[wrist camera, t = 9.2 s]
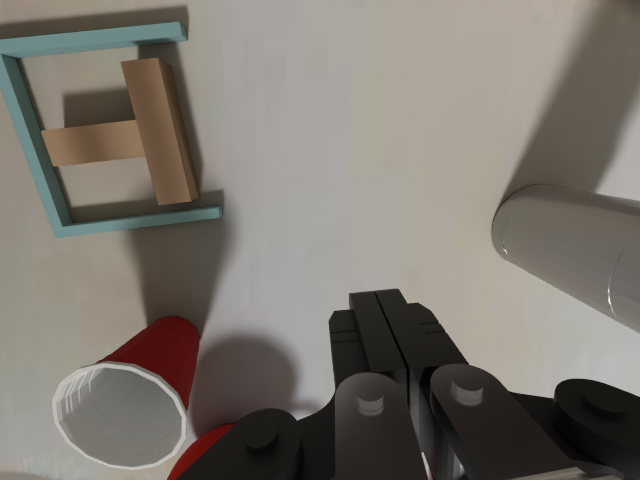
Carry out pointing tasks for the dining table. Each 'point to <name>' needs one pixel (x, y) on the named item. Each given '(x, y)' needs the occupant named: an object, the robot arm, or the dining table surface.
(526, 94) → the dining table surface
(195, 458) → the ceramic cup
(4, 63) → the dock
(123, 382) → the plastic cup
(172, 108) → the t block
